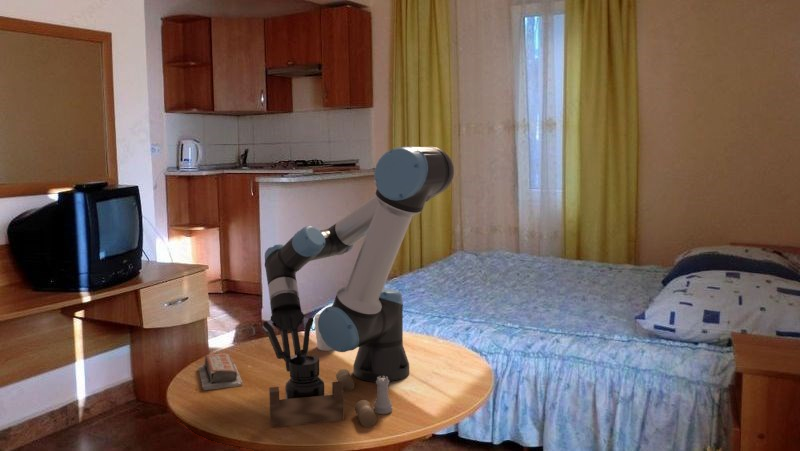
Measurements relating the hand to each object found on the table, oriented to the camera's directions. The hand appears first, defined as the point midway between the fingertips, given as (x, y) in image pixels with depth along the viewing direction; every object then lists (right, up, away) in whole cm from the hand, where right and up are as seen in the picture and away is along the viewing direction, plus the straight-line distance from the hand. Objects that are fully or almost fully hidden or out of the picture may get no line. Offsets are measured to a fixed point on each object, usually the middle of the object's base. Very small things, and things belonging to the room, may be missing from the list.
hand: (296, 382), depth 162 cm
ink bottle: (+3, -6, -4) cm, 8 cm away
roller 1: (+12, -3, +12) cm, 17 cm away
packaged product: (-23, -4, +19) cm, 31 cm away
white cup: (+3, 0, +45) cm, 45 cm away
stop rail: (+4, -6, -10) cm, 13 cm away
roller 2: (+17, -6, -10) cm, 21 cm away
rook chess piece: (+21, -6, -5) cm, 22 cm away
